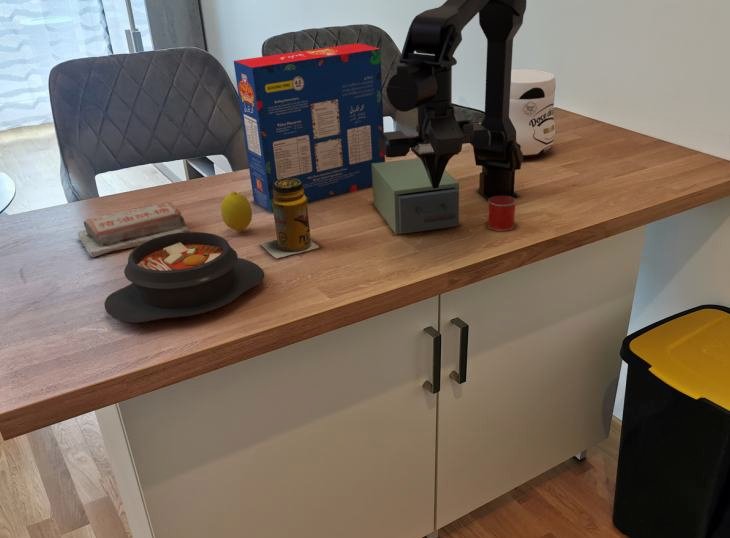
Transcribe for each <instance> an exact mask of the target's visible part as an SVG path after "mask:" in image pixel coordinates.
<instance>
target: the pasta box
mask: <svg viewBox="0 0 730 538" xmlns="http://www.w3.org/2000/svg"><path fill="white" fill-rule="evenodd" d="M381 58H382V57H381V48H379V47H375V46H372V45H368V44H363V43H359V42H357V43H351V44H350V43H349V44H342V45H337V46H330V47H329V46H328V47H322V48H315V49H306V50H300V51H294V52H287V53H279V54H278V53H277V54H274V55H272V54H271V55H265V56H257V57H251V58H244V59H243V58H242V59H235V60H233V67H234V73H235V74H234V75H235V79H236V80H235V81H236V82H235V83H236V86H237V87H236V89H237V95H238V102H239V108H240V116H241V123H242V128H243V137H244V142H245V151H246V157H247V162H248V170H249V178H250V185H251V191H252V197H253V202H254V203H255V204H257V205H258V206H260V207H262V208H263V209H264V210H266V211H267V212H269V213H271V214H272V213H273V214H274V212H273V205H272V199H273V197H274V195H273V187H272V186H273V184H274V182H276V181H277V180H281V179H288V178H291V179H292V178H293V179H298V180H300V181H301V182H302V184H303V191H304V195H305V196H306V200H307V204H311V203H315V202H319V201H322V200H327V199H331V198H335V197H337V196H341V195H345V194H349V193H353V192H357V191H360V190H364V189H368V188H373V184H372V165H371V164H372V163H381V162H386V156H385V155H384V154H383V152H382V151H381V150H380V149H379V142H378V139H379V136H380V135H381V133H384V132H385V129H384V127H385V126H384V125H385V124H384V103H383V102H384V101H383V100H384V99H383V82H382V81H383V79H382V59H381Z"/></svg>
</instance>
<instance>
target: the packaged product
mask: <svg viewBox="0 0 730 538" xmlns="http://www.w3.org/2000/svg"><path fill="white" fill-rule="evenodd" d="M83 225H84V228H85V230H80V231H77V236H78V238H79V240H80V241H81V243H82V244H83V246H84V247H85V249H86V251H87V253H88V254H89V255H90V257H92V258H95V257H98V256H102V255H106V254H108V253H112V252H117V251H120V250H124V249H125V250H126V249H130V248H136V247H137V246H139V245H141V244H143V243H144V242H147V241H149V240H151V239H154V238H157V237H161V236H165V235H169V234H175V233H184V232H190V229H189V227H187V226H186V224H185V218H184V216H183V215H182V211H181V210H179V209H178V207H176V205H175V204H174V203H173V202H172V201H166V202H160V203H155V204H152V205H145V206H141V207H136V208H132V209H127V210H122V211H117V212H113V213H108V214H103V215H99V216H94V217H90V218H87V219H85V220H84V221H83Z"/></svg>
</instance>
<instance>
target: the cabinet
mask: <svg viewBox="0 0 730 538" xmlns="http://www.w3.org/2000/svg"><path fill="white" fill-rule="evenodd" d="M371 165H372V184H373V186H372V199H373V200H372V201H373V202H372V203H373V205H374V207H375V208H376V209H377V212H379V214H380V216H381V217H382V218H383V219H384V221H385V222H386V223H387V225H388V226H389V228H390V229H391V230H392V231H393V233H394V234H395V235H402V234H404V235H405V233H401V232H400V231H399V203H398V195H399V194H407V193H415V192H423V191H431V190H439V189H446V188H451V190H453V189H457V190H459V191H460V182H458V181H457V179H455V178H454V176H452V175H451V174H450V173H449V172H448V171H447V170H446V169H445V170H444V173H443V176H442V179H441V181H440V184H439V187H438V188H435V189H434V188H433V187H432V185H431V183H430V180H429V177H428V175H427V172H426V170H425V167H424V165H423V163H422V161H421V159H420V158H418V157H416V158H409V159H399V160H391V161H385V162H381V163H372V164H371ZM453 227H459V225H456V226H449V227H442V228H441V229H446V228H453ZM438 229H440V228H435V229H434V230H438ZM431 230H433V229H428V230H427V231H431ZM425 231H426V230H421V231H420V232H425ZM417 232H419V231H414V232H413V233H417ZM411 233H412V232H407V233H406V234H411Z"/></svg>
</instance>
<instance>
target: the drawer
mask: <svg viewBox="0 0 730 538" xmlns="http://www.w3.org/2000/svg"><path fill="white" fill-rule="evenodd" d="M398 203H399V231H400V232H401V233H404V234H408V233H407V232H411V233H415V232H414V231H418V232H422V231H421V230H425V231H429V230H428V229H432V230H436V229H435V228H439V229H443V228H442V227H447V228H450V227H449V226H454V227H457V226H456V225H458V226H459V222H460V189H459V190H457V189H453V190H451V188H446V189H439V190H431V191H423V192H415V193H407V194H399V195H398Z"/></svg>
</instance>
